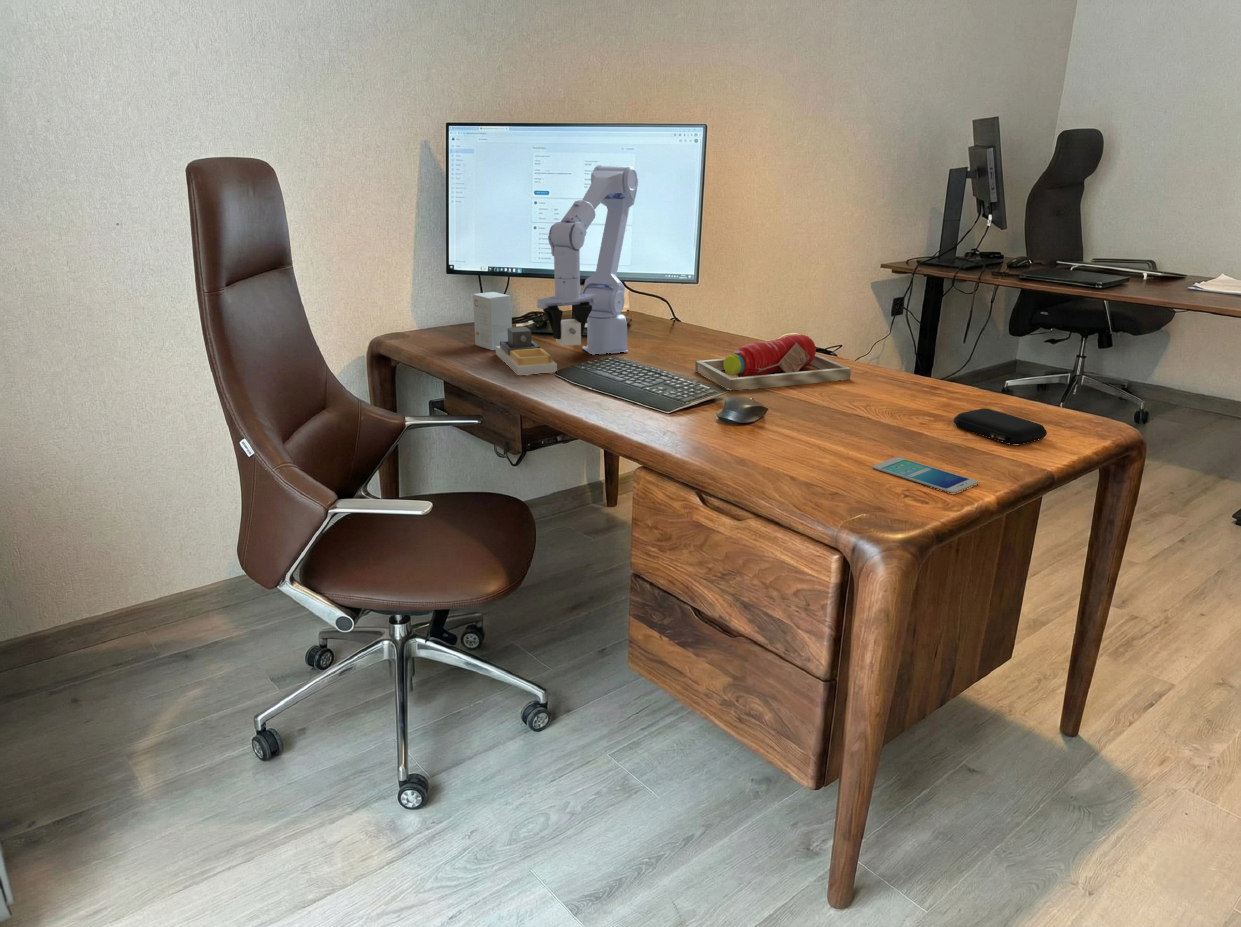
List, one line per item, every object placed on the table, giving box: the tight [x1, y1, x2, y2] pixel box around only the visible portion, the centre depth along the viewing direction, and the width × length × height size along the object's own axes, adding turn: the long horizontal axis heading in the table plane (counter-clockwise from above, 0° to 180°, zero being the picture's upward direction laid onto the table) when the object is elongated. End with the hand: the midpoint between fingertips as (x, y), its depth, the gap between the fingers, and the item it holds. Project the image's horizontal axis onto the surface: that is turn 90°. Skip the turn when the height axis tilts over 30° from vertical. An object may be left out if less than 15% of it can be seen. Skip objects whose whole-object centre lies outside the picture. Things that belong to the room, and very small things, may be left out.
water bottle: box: [724, 333, 817, 378], centre depth 202 cm, size 12×8×25 cm
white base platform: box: [495, 340, 558, 375], centre depth 213 cm, size 9×22×4 cm, turn 20°
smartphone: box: [872, 456, 979, 493], centre depth 145 cm, size 8×1×15 cm
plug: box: [555, 318, 582, 347], centre depth 208 cm, size 4×7×5 cm
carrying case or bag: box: [953, 407, 1048, 445], centre depth 165 cm, size 11×3×15 cm
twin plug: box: [507, 326, 533, 348], centre depth 215 cm, size 4×7×5 cm
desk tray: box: [694, 353, 852, 391], centre depth 203 cm, size 29×17×2 cm, turn 110°
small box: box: [472, 291, 513, 351], centre depth 228 cm, size 8×6×13 cm
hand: (568, 336), depth 209 cm, fingers closed on plug, 5 cm apart
